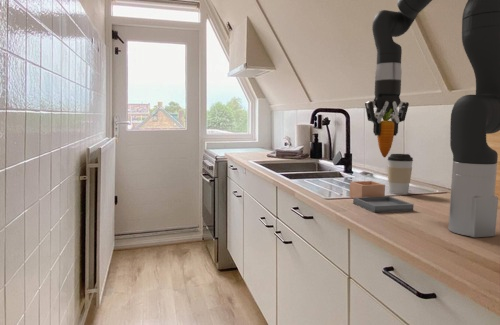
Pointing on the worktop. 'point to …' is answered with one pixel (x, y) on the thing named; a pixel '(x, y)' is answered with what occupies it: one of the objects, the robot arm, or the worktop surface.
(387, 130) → the carrot
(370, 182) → the terracotta open box
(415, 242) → the worktop surface
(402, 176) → the coffee cup
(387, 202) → the charcoal tray
